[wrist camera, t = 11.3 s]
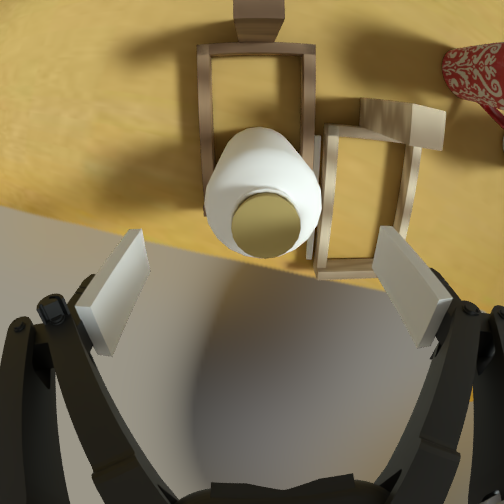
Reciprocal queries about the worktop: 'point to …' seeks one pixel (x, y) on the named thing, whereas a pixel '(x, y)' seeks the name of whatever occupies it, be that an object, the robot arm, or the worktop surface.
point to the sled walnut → (255, 43)
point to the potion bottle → (262, 195)
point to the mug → (477, 76)
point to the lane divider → (316, 171)
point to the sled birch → (415, 137)
